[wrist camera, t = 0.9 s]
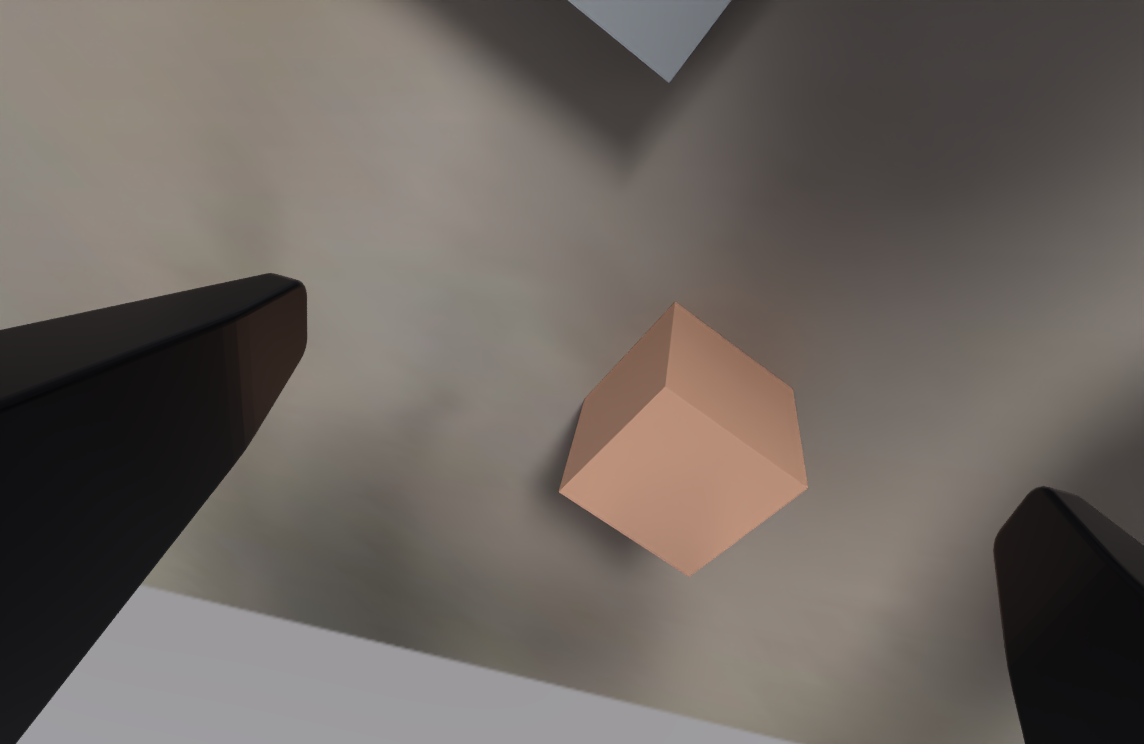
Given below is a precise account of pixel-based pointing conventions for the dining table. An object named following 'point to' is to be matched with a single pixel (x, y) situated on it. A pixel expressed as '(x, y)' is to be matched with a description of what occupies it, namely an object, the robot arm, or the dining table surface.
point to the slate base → (655, 27)
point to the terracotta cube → (686, 444)
